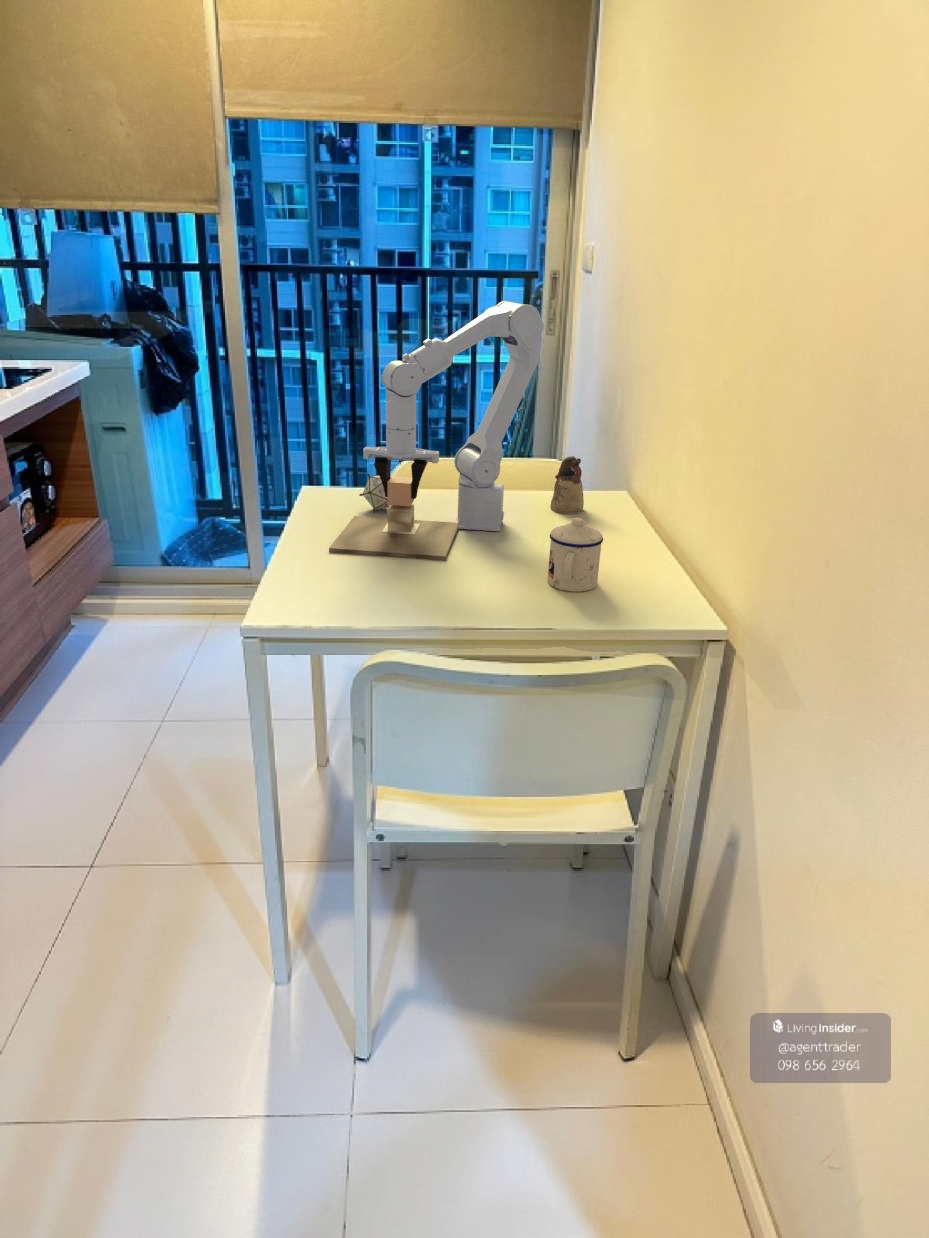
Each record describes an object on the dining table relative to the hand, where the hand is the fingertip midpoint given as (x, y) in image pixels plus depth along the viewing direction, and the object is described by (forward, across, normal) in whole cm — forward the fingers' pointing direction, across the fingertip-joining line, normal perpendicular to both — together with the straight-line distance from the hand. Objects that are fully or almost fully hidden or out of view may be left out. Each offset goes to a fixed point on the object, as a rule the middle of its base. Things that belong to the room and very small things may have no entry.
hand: (401, 496), depth 163 cm
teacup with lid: (+8, +34, -22) cm, 41 cm away
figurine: (+8, +33, +23) cm, 41 cm away
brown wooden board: (+7, 0, -4) cm, 8 cm away
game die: (+8, -7, +14) cm, 17 cm away
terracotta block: (+1, 0, 0) cm, 1 cm away
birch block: (+6, 0, 0) cm, 7 cm away
